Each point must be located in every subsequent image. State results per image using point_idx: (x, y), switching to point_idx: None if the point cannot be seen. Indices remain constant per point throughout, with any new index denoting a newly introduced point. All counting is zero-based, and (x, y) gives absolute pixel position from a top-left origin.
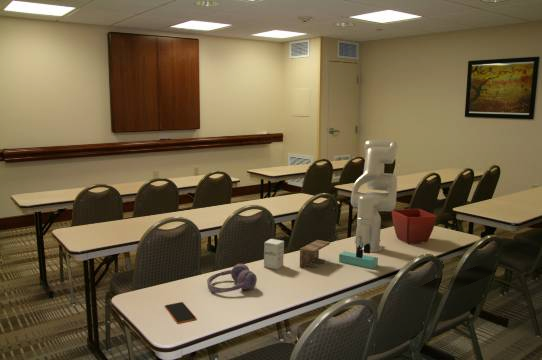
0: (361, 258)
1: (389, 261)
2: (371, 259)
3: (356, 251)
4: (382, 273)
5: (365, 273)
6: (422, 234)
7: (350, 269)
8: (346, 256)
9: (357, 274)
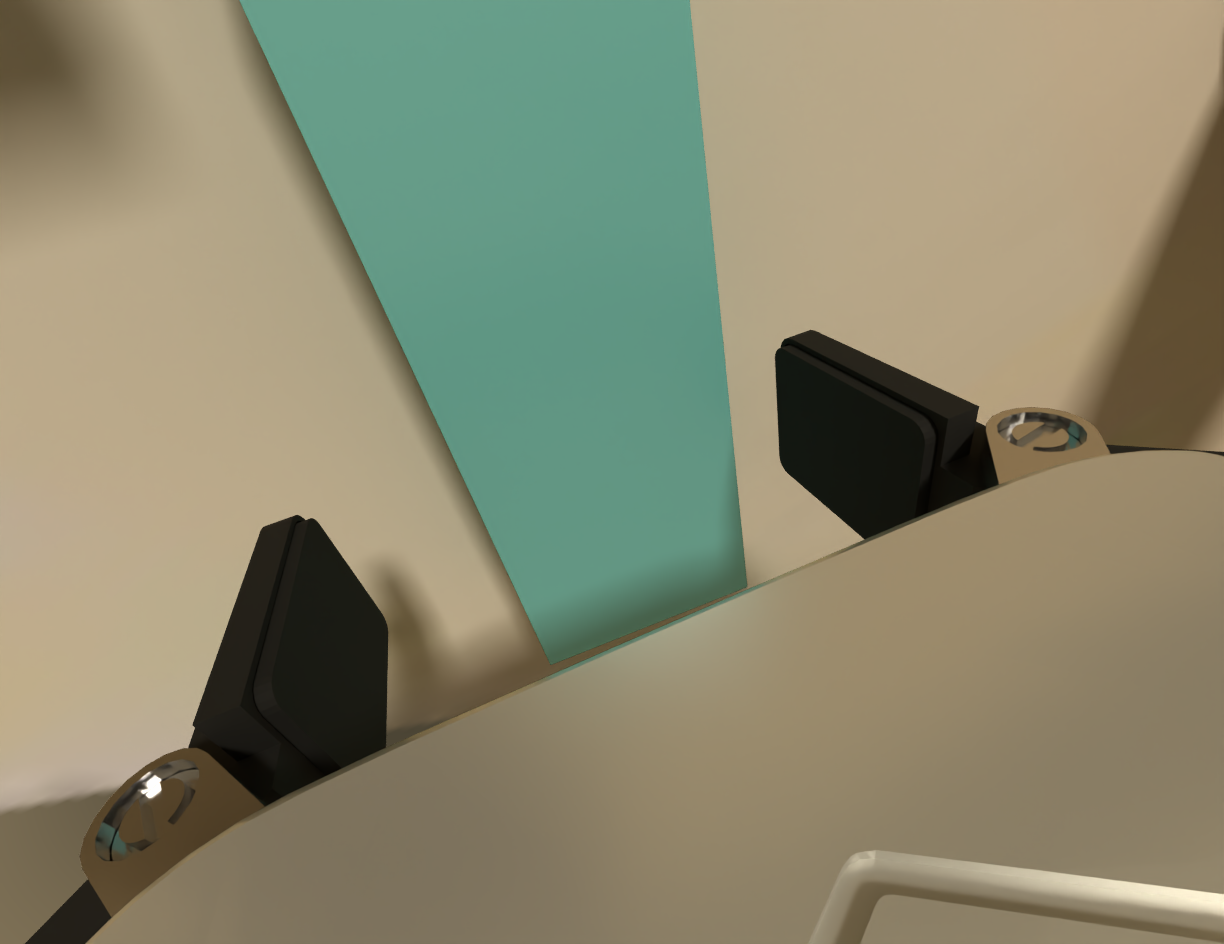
0: (478, 485)
1: None
2: (595, 600)
3: (230, 647)
4: (497, 697)
5: None
6: None
7: (123, 411)
8: (256, 19)
9: (103, 628)
